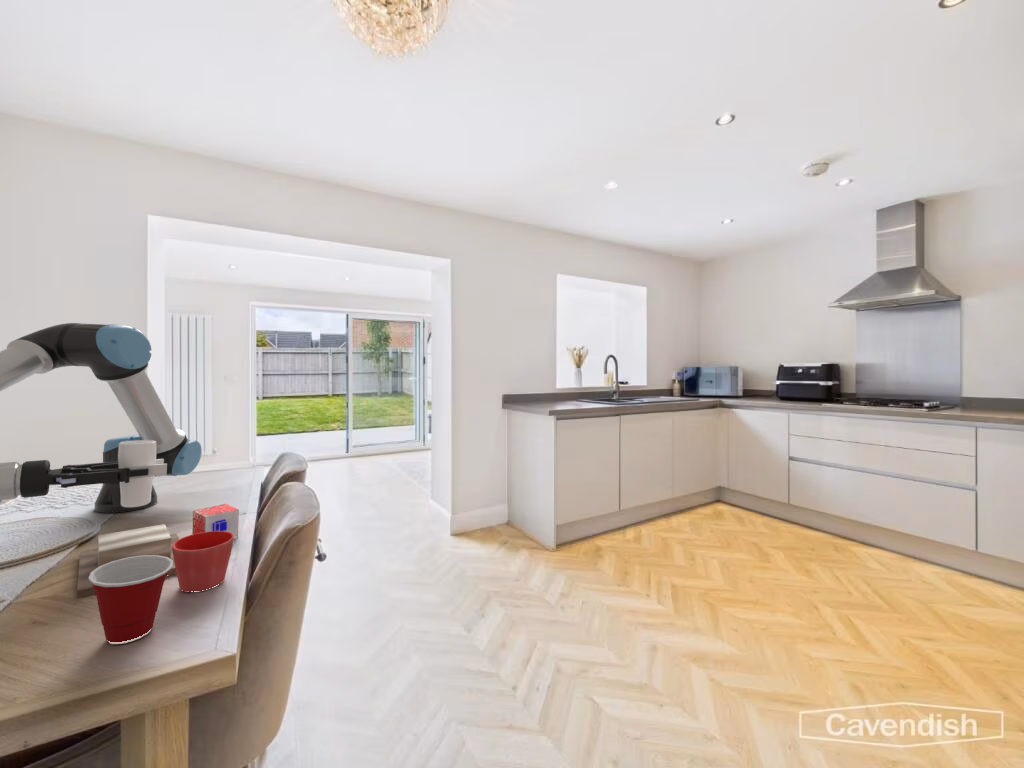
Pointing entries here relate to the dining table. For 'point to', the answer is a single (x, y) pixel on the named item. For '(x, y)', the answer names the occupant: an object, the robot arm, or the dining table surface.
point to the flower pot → (202, 559)
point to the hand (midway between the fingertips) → (164, 466)
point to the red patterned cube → (216, 519)
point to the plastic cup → (129, 594)
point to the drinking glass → (136, 455)
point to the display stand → (124, 551)
